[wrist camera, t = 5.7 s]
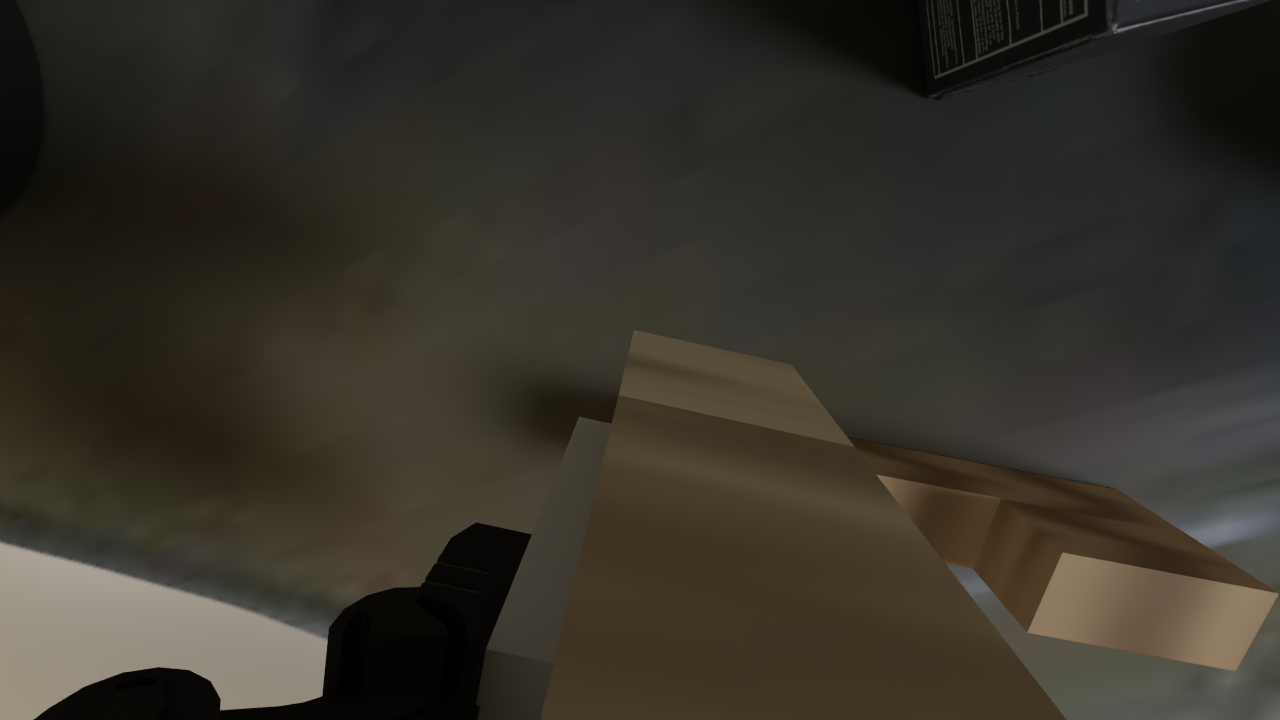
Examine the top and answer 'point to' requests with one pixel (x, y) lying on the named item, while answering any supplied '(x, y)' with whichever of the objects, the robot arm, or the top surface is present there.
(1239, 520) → the top surface
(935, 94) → the small box
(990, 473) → the oak board
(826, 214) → the top surface
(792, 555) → the beige wooden slab
